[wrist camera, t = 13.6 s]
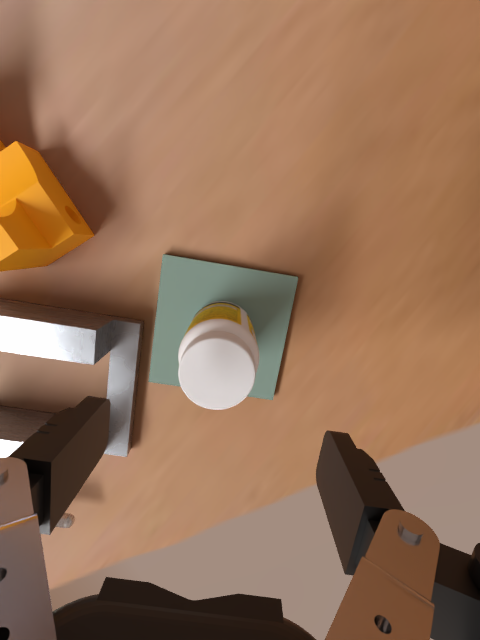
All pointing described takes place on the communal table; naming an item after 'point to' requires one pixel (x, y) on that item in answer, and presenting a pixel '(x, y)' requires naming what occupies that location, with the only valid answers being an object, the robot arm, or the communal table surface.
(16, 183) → the pipe clamp
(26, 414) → the vise
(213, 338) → the supplement bottle
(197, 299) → the mat
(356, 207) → the communal table surface
